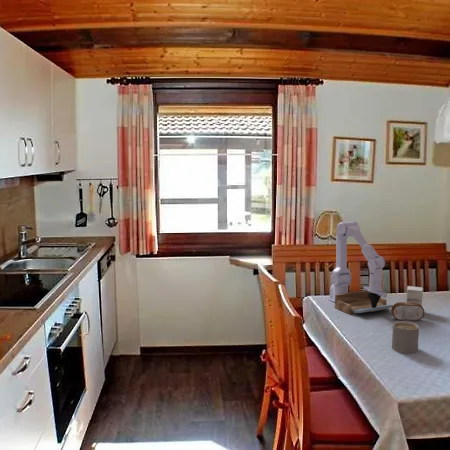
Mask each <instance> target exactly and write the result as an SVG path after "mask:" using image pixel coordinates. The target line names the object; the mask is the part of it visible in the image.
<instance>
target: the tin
mask: <svg viewBox="0 0 450 450" xmlns="http://www.w3.org/2000/svg"><path fill="white" fill-rule="evenodd" d="M392 305H393V306H392V308H390V312H391V315H392V316H393V318H394V319H396V320H398V321H407V322H411V321H415V322H416V321H417V322H418V321H420V320H422V319H423V318H424V316H425V309H424V307H423V305H422V306H421V305H420V304H418V303H406V302H404V301H402V302H396V303H394V304H392Z"/></svg>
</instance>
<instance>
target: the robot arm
mask: <svg viewBox="0 0 450 450" xmlns="http://www.w3.org/2000/svg"><path fill="white" fill-rule="evenodd" d="M349 237H352V238H353V239H354V240H355V241H356V243H357V244H358V245H359V246H360V247H361V250H360V251H361V253H362V254H363V256H364V258H365V259H366V261H367V267H368V271H369V281H368V282H369V283H368V286H367V285H364V286H363V290H362V291H365V290H366V291H369V292H370V293H369V294H368V296H369V299H370V301H371V306H372V308H375V307H376V306H377V303H378V301H379V299H380V298H383V299H385V298H386V299H387V297H388V293H387V292H384V290H383V289H382V281H383V279H382V278H383V268H384V267H385V266H386V260H385V258H384V257H383V256H381V255H379V254H378V253H377V251H376V249H374V246H373V245H371V244H369V243H368V242H367V240H366V239H365V237H364V235H363V233H362V232H361V226H360V224H359V223H358V222H357V221H355V220H352V221H341V222H339V223H338V224H337V225H336V234H335V243H336V244H335V246H336V247H335V248H336V249H335V250H336V251H335V253H336V255H335V256H336V259H335V260H336V264H335V268H334V269H333V270H332V271H331V272H332V273H331V277H330V281H331V283H332V284H331V285H330V288H329V298H328V301H331V302H334V303H335V295H338V294H344V293H349V292H348V290H349V286H350V284H351V283H352V275H351V270H350V269H349V268H348V267H347V266H348V258H347V255H348V253H347V252H348V247H347V246H348V245H347V243H348V241H347V240H348V238H349Z"/></svg>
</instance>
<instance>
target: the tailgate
mask: <svg viewBox="0 0 450 450" xmlns="http://www.w3.org/2000/svg"><path fill="white" fill-rule="evenodd" d="M393 305H394V304H386V305H382V306H376V307H375V308H372V307H370V308H364V309H358V310H353V313H355V314H359V313H360V314H361V313H368V312H372V313H373V312H378V311H382V310H386V309H392V306H393Z"/></svg>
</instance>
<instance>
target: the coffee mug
mask: <svg viewBox="0 0 450 450" xmlns="http://www.w3.org/2000/svg"><path fill="white" fill-rule="evenodd" d="M419 333H420V326H419V324H417V323H414V322H411V321H406V320H398V321H395V322H393V323H392V335H391V336H392V337H391V340H392V341H391V349H392V350H393V351H395V352H397V353H400V354H405V353H406V354H409V355H410V354H411V355H413V354H416V353H417V352H418V351H419V335H420V334H419ZM406 354H405V355H406Z"/></svg>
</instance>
